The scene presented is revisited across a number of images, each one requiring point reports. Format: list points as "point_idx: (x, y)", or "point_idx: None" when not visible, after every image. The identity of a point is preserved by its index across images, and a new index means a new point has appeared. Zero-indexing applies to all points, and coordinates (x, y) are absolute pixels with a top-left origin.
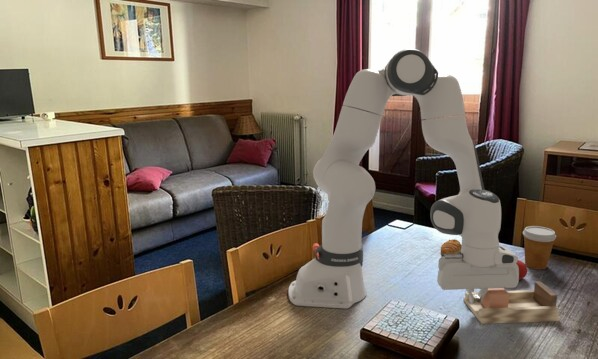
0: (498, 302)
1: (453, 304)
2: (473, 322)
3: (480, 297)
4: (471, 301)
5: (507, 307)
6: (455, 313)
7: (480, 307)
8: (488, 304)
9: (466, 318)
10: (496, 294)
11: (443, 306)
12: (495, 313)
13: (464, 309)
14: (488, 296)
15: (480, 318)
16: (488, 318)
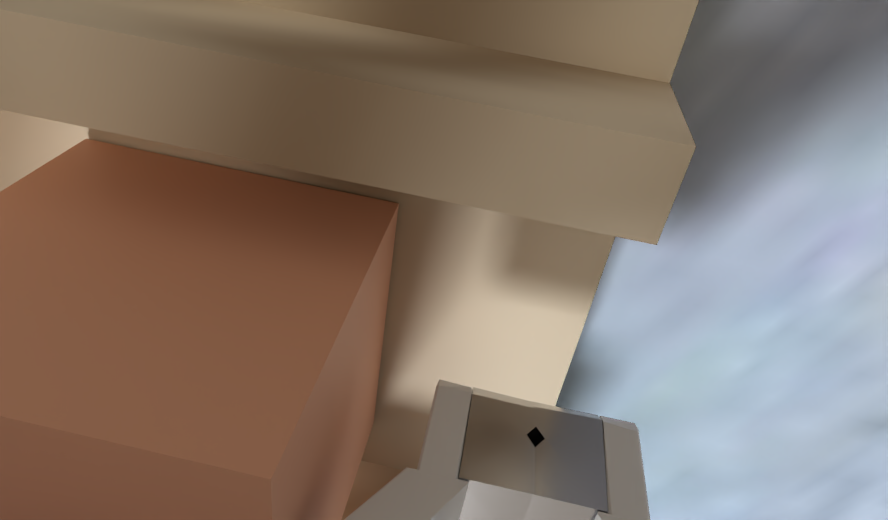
0: (153, 274)
1: (677, 500)
2: (792, 70)
3: (467, 485)
4: (638, 458)
5: (42, 175)
6: (838, 358)
7: (439, 345)
8: (361, 307)
9: (799, 209)
10: (90, 438)
11: (838, 509)
12: (355, 49)
13: (629, 392)
14: (305, 454)
15: (672, 74)
16: (525, 26)
